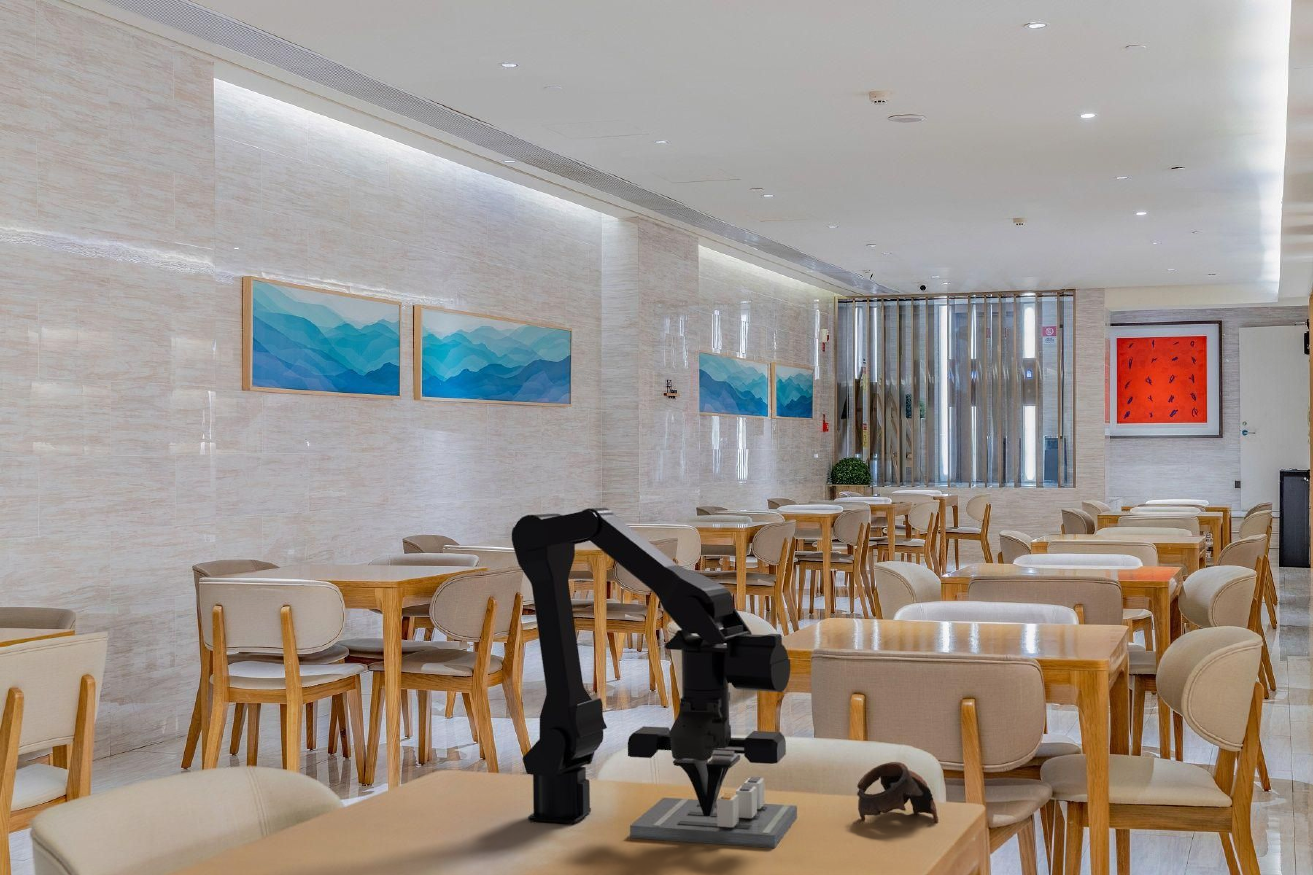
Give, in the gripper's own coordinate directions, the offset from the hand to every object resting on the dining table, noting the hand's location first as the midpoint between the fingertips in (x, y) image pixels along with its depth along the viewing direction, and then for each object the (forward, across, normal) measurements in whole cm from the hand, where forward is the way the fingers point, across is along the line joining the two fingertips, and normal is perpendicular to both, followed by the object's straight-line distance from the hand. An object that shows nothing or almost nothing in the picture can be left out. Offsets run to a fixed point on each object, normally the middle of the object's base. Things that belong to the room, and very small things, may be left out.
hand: (707, 815), depth 154 cm
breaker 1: (+1, +3, 0) cm, 3 cm away
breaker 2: (+1, +4, +9) cm, 10 cm away
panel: (+3, 0, +5) cm, 5 cm away
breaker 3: (+1, +4, +5) cm, 6 cm away
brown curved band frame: (+3, +21, +14) cm, 26 cm away
